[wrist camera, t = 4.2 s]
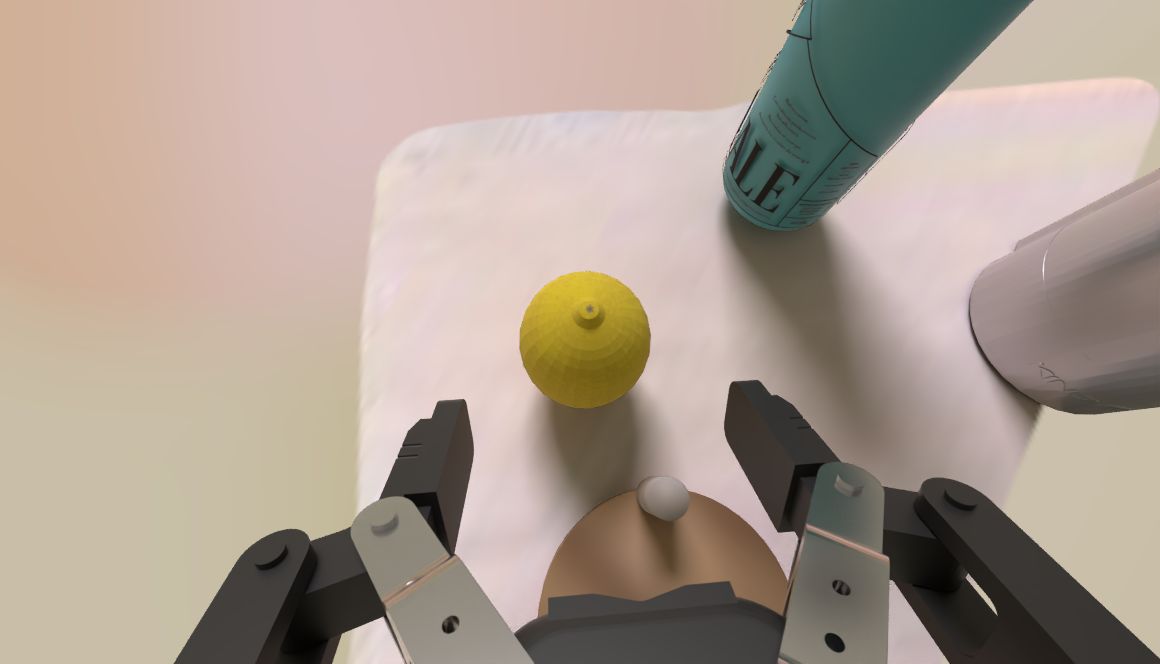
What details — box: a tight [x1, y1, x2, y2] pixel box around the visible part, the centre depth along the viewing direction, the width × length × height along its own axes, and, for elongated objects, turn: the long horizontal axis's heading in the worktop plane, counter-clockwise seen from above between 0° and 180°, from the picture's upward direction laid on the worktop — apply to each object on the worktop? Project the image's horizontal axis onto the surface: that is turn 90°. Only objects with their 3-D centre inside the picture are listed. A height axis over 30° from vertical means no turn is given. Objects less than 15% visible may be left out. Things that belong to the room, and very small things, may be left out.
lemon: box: [520, 271, 651, 408], centre depth 19 cm, size 6×6×8 cm
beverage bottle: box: [723, 0, 1033, 231], centre depth 16 cm, size 6×7×20 cm
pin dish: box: [538, 477, 788, 617], centre depth 17 cm, size 11×11×4 cm
